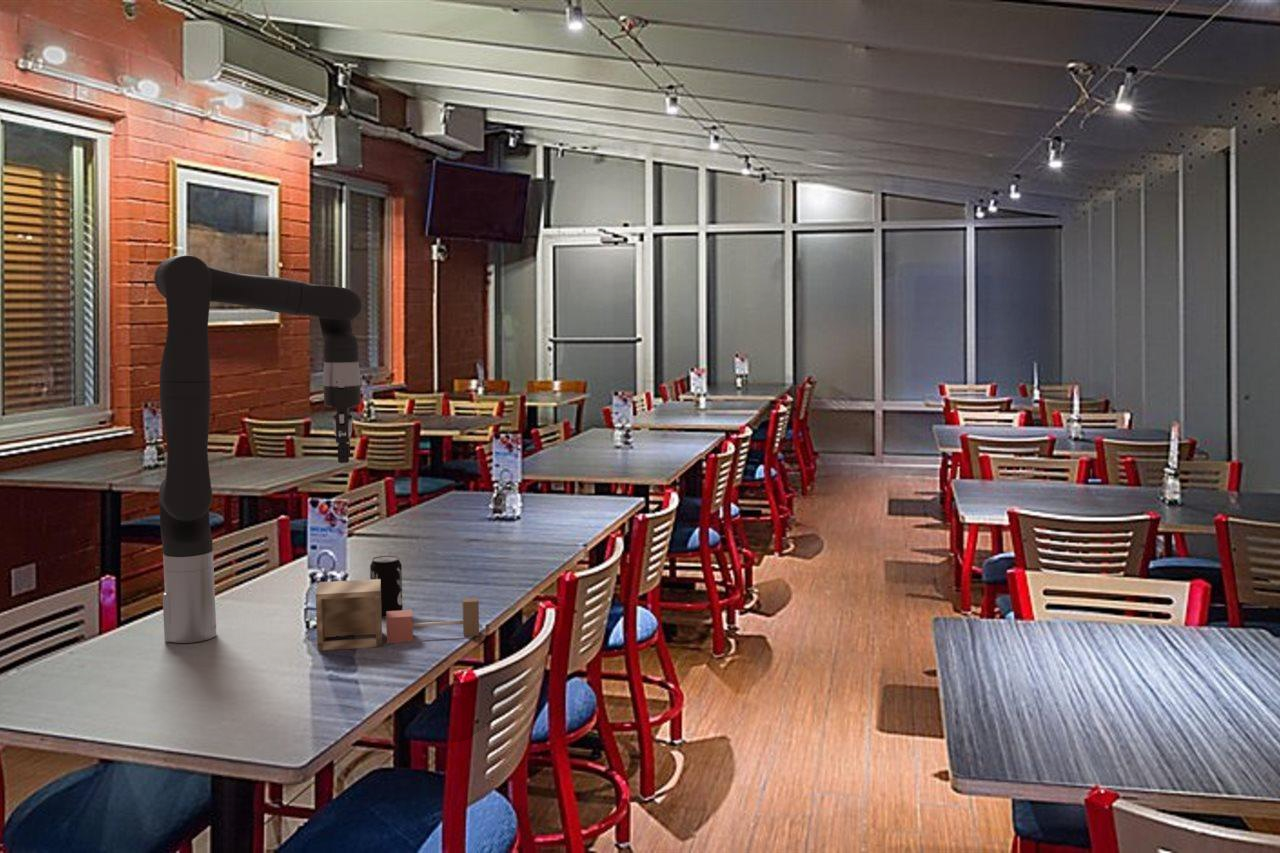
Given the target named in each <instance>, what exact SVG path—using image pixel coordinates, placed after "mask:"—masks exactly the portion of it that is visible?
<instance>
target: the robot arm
mask: <svg viewBox="0 0 1280 853" xmlns="http://www.w3.org/2000/svg"><path fill="white" fill-rule="evenodd" d="M153 279H154V286H155V287H156V290H157V291H158V292H159V294H160V295H161V296H162V297H164V298H165V301H166V311H167V313H166V314H167V334H166V339H165V343H164V347H163V351H162V355H161V356H162V358H161V362H160V369H159V405H160V414H161V421H162V428H163V431H164V437H165V441H166V442H165V444H166V450H167V451H166V452H167V456H166V458H167V459H166V472H165V474H166V475H165V477H164V479H163V481H162V482H161V484H160V486H159V491H158V509H159V510H158V511H159V524H160V525H159V526H160V537H161V543H162V544H161V545H162V558H163V560H162V562H163V580H164V582H163V584H164V592H163V593H162V611H163V612H162V613H163V614H162V616H163V631H164V632H163V634H164V635H163V636H164V642H165V643H176V644H189V643H197V642H203V641H208V640H210V639H213V638H215V637H216V636H217V617H216V616H217V612H216V591H215V590H216V589H215V570H214V566H215V564H214V546H213V545H214V544H213V542H214V540H213V535H212V530H211V522H210V521H211V520H210V508H211V504H212V502H213V490H212V482H211V474H210V465H209V454H208V452H209V451H208V446H209V445H208V444H209V443H208V442H209V433H210V421H211V392H212V390H211V388H212V387H211V360H210V359H211V358H210V345H209V316H210V305H211V302H212V303H213V302H214V303H215V302H216V303H221V304H222V303H223V304H224V303H225V304H233V305H237V306H244V307H248V308H252V309H253V308H254V309H258V310H264V311H269V312H274V313H278V314H279V313H280V314H285V315H292V316H300V317H301V316H309V317H310V316H311V317H317V318H318V322H319V326H320V332H321V335H322V339H323V371H322V373H323V374H322V379H323V383H322V384H323V403H324V406H325V407H327V408H334V409H335V408H336V414H333V416H332V423H333V426H334V427H333V432H334V436H335V443H336V446H337V462H338V463H339V464H348V463H349V461H350V457H351V442H350V441H351V438H352V432H353V422H354V416H353V415H354V414H351V409H350V408H351V407H358V406H359V407H360V405H361V404H362V396H361V370H360V364H359V342H358V338H357V336H355V335H354V333H353V329H352V321H353V320H354V319H356V318H357V317H358V316H359V315H360V312H361V311H362V300H361V298H360V296H359V295H358V294H357V293H356V292H355V291H354V290H352V289H350V288H348V287H342V286H335V285H323V284H314V283H313V284H312V283H309V282H304V281H301V280H295V279H290V278H289V279H288V278H284V277H277V276H271V275H270V276H269V275H259V274H258V275H256V274H247V273H246V274H245V273H237V272H233V271H232V272H231V271H226V270H221V269H217V268H213V267H210V266H208V265H207V264H206V263H205V261H203V260H202V259H201V258H199V257H197V256H195V255H190V254H182V255H174V256H170V257H168V258H166V259H164V260H163V261H161V263H159V264H158V266H157V267H156V269H155V272H154V277H153Z"/></svg>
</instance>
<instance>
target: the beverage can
mask: <svg viewBox="0 0 1280 853" xmlns="http://www.w3.org/2000/svg"><path fill="white" fill-rule="evenodd" d="M369 565H370V566H369V572H370V573H369V576H370V579H369V580H371V579H381V613H382V617H386V611H401V610H404V609H403V606H404V605H403V575H402V573H403V572H402V571H403V570H402V562H401V561H400V556H397V555H391V554H390V555H387V554H386V555H378V556H373V557H372V558H371V563H370V564H369Z"/></svg>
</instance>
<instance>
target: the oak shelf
mask: <svg viewBox="0 0 1280 853" xmlns="http://www.w3.org/2000/svg"><path fill="white" fill-rule="evenodd" d="M315 612H316V613H315V614H316V615H315V616H316V643H317V644H316V645H317V652H319V651H322V652H323V651H333V650H334V651H335V650H346V649H347V650H350V649H351V650H352V649H353V650H354V649H366V648H368V649H369V648H380V647H381V648H382V646H383V641H382V640H383V639H382V636H383V622H382V621H383V620H382V617H383V616H382V613H381V579H371V580H370V579H356V580H355V579H353V580H339V581H338V580H336V581H318V584H317V588H316V591H315ZM345 635H356V636H368V635H369V636H370V635H371V636H372V635H376V637H372V638H371V637H370V638H355V639H353V638H352V639H340V640H339V639H338V640H326V638H336V636H339V637H346V636H345Z"/></svg>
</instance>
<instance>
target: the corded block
mask: <svg viewBox="0 0 1280 853" xmlns="http://www.w3.org/2000/svg"><path fill="white" fill-rule="evenodd" d="M461 601H462V602H461V603H462V606H461V607H462V620H452V621H450V620H449V621H448V620H447V621H434V622H433V621H432V622H419V623H418V622H417V623H415V622H414V623H413V610H412V609H402V610H401V611H386V616H385V617H386V618H385V619H386V620H385V621H386V644H388V643H389V644H393V643H405V642H407V643H408V642H413V641H414V631H413V630H414V628H421V627H423V628H424V627H438V626H439V627H440V626H448V625H449V626H455V625H462V634H463V637H477V636H480V615H479V613H480V612H479V611H480V610H479V605H480V604H479V598H478V597H464V598H462V599H461Z"/></svg>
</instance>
